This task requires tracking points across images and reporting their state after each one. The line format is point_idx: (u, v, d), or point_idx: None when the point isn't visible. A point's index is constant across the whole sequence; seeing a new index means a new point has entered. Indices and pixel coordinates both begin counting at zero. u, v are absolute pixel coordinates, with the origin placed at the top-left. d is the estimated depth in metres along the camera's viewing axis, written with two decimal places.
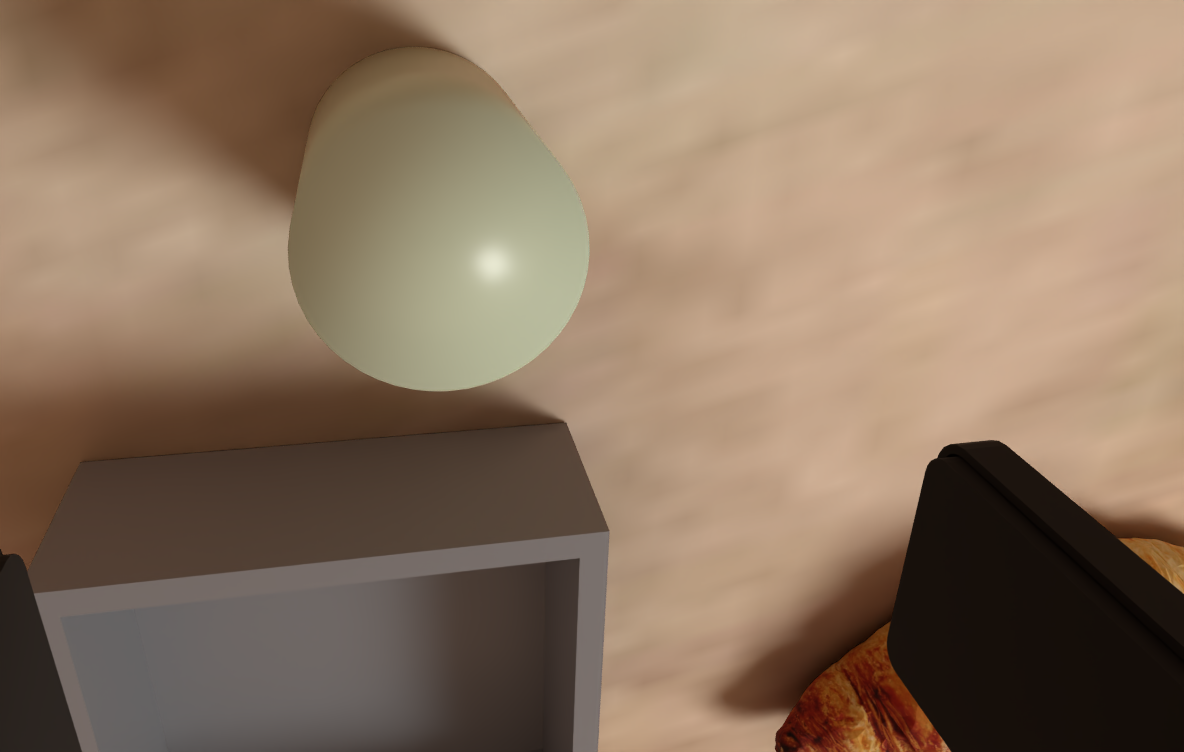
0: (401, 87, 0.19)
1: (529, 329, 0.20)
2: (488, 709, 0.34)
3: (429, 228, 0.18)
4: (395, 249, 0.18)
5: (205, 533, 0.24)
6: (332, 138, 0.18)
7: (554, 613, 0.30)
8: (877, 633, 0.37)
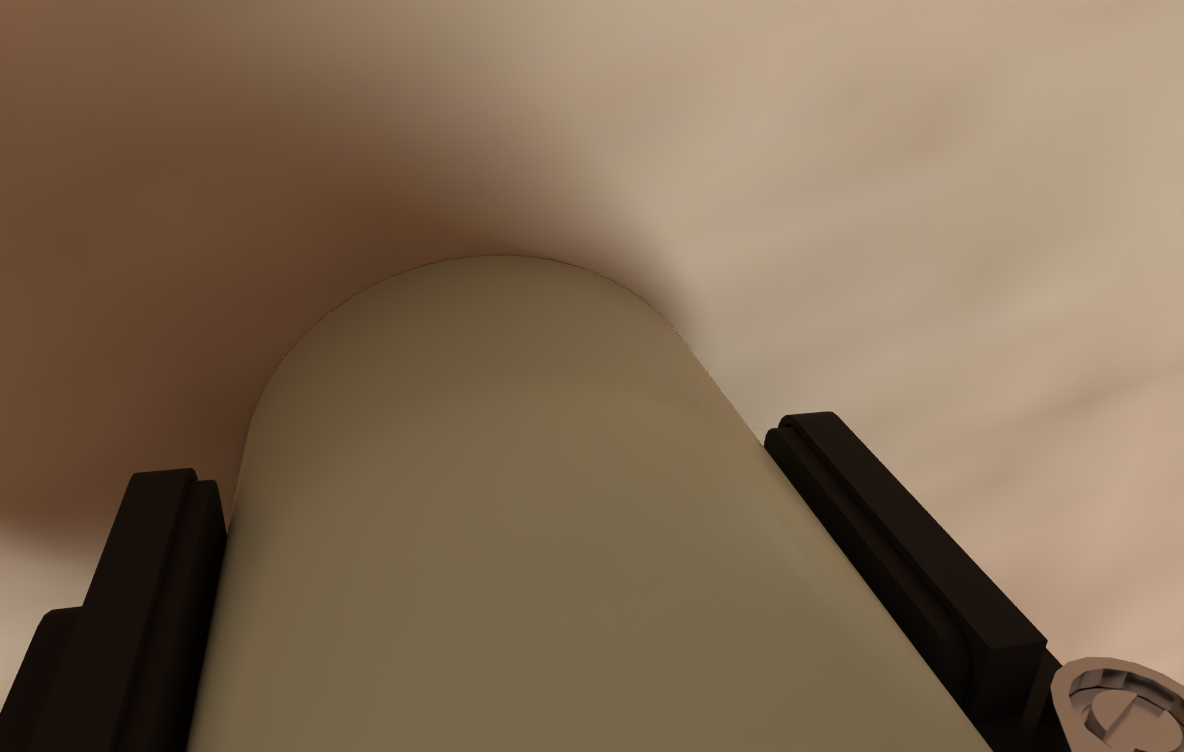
0: (510, 579, 0.06)
1: None
2: None
3: None
4: None
5: None
6: None
7: None
8: None
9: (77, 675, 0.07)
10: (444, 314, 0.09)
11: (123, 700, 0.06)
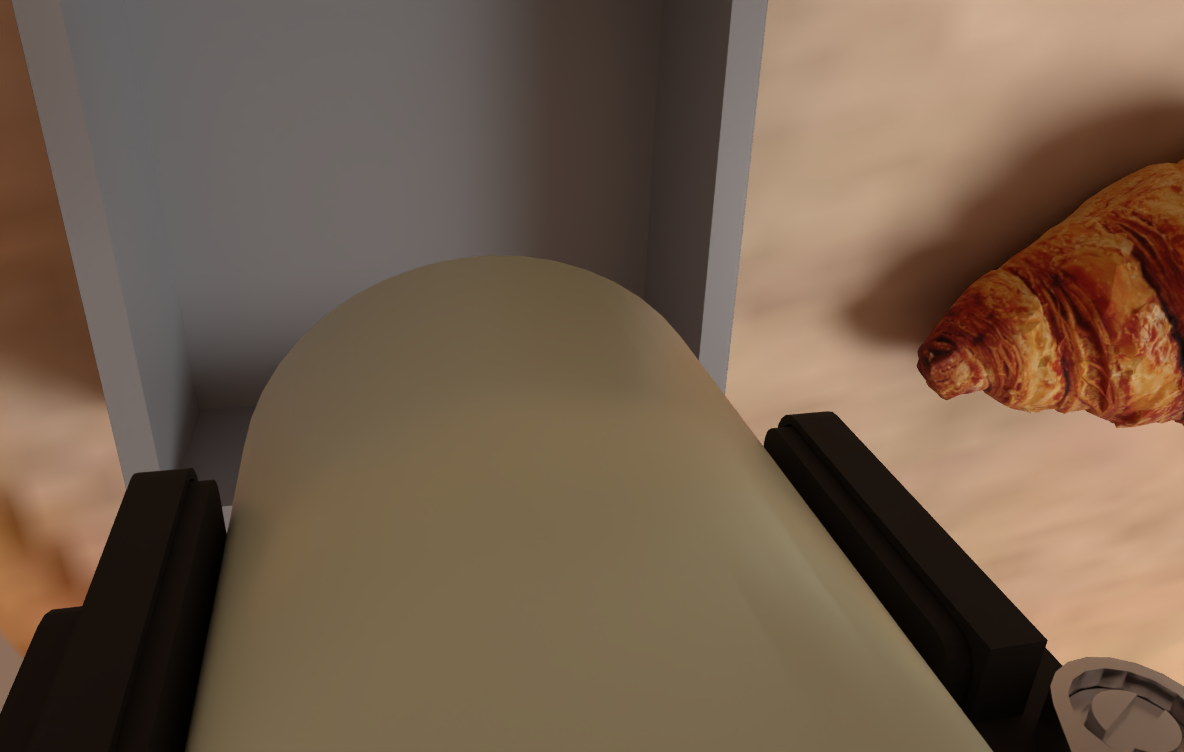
0: (510, 581, 0.06)
1: None
2: None
3: None
4: None
5: None
6: None
7: (674, 125, 0.24)
8: (1048, 230, 0.30)
9: (77, 675, 0.07)
10: (443, 314, 0.09)
11: (122, 700, 0.06)
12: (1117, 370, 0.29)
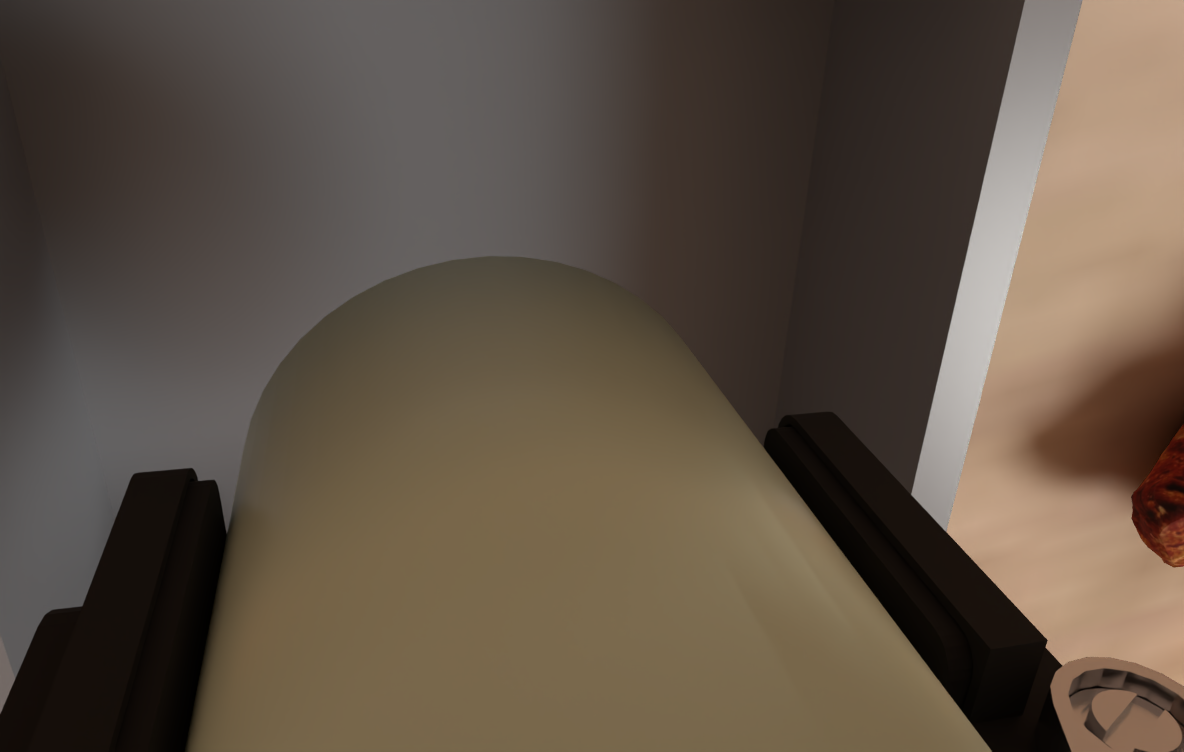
0: (510, 583, 0.06)
1: None
2: None
3: None
4: None
5: None
6: None
7: (847, 227, 0.16)
8: None
9: (77, 675, 0.07)
10: (444, 315, 0.09)
11: (122, 700, 0.06)
12: None
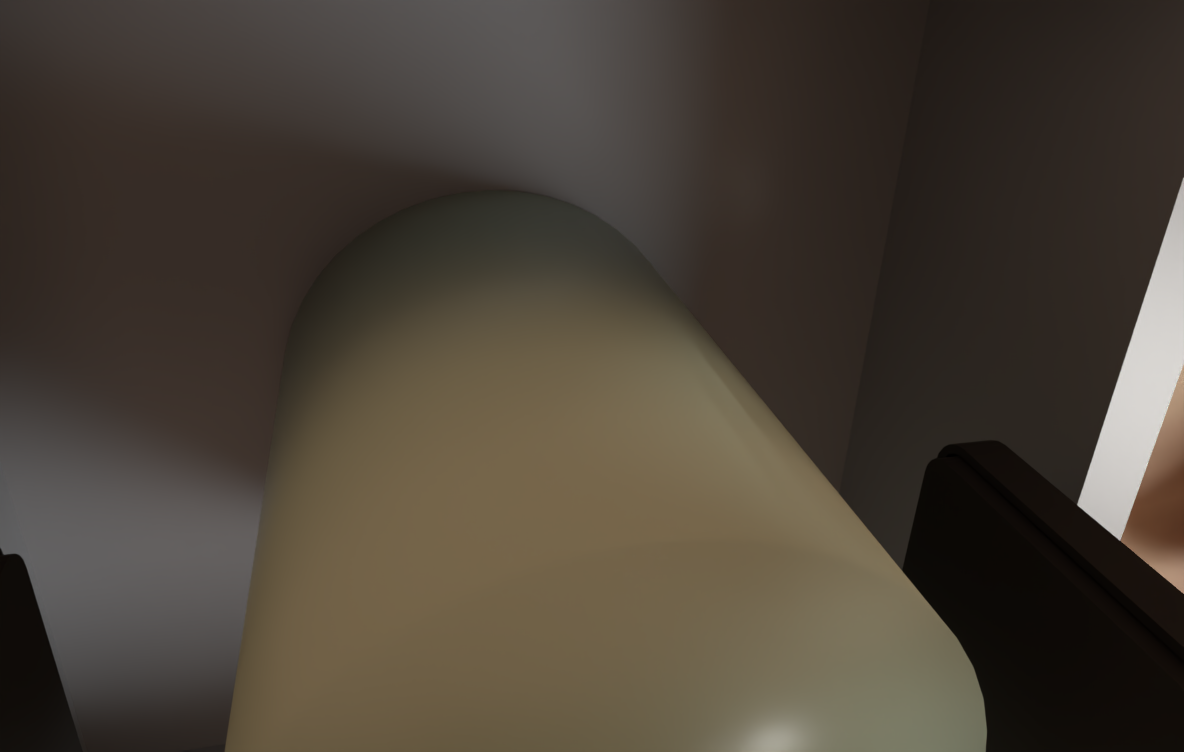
0: (504, 381, 0.08)
1: None
2: None
3: None
4: None
5: None
6: (331, 577, 0.06)
7: (939, 306, 0.13)
8: None
9: None
10: (453, 229, 0.11)
11: None
12: None
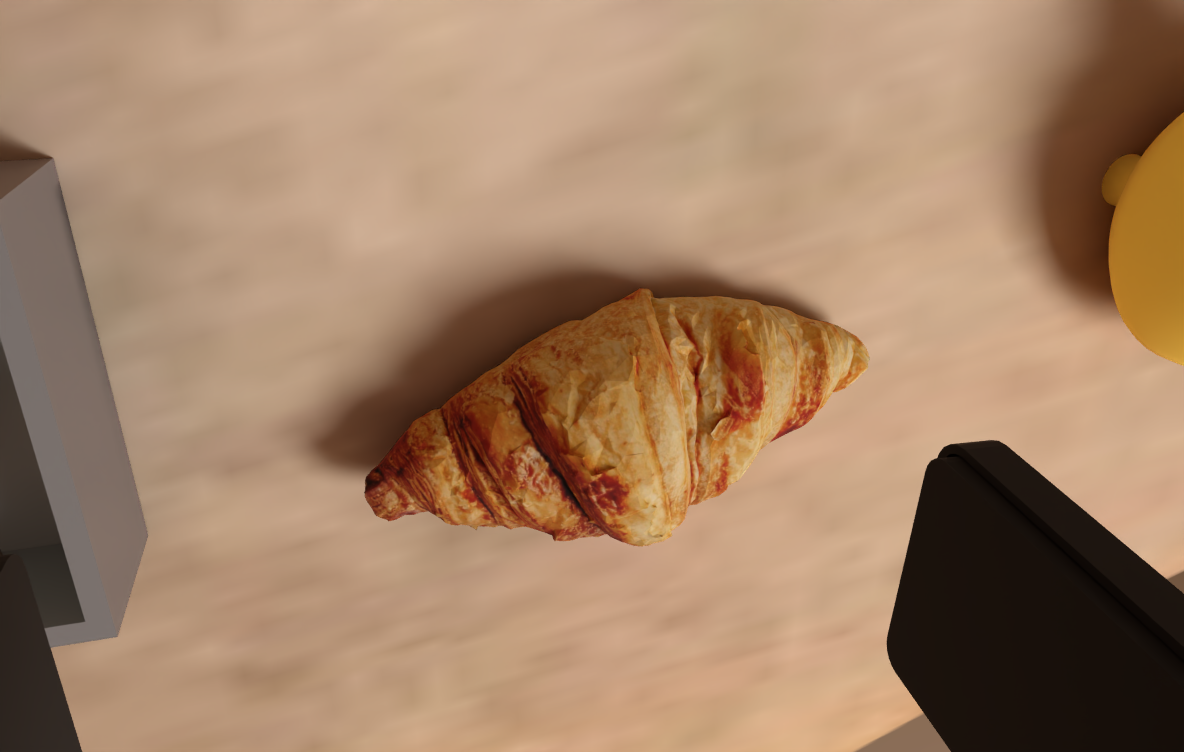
0: None
1: None
2: (38, 487, 0.33)
3: None
4: None
5: None
6: None
7: None
8: (481, 376, 0.36)
9: None
10: None
11: None
12: (512, 499, 0.34)
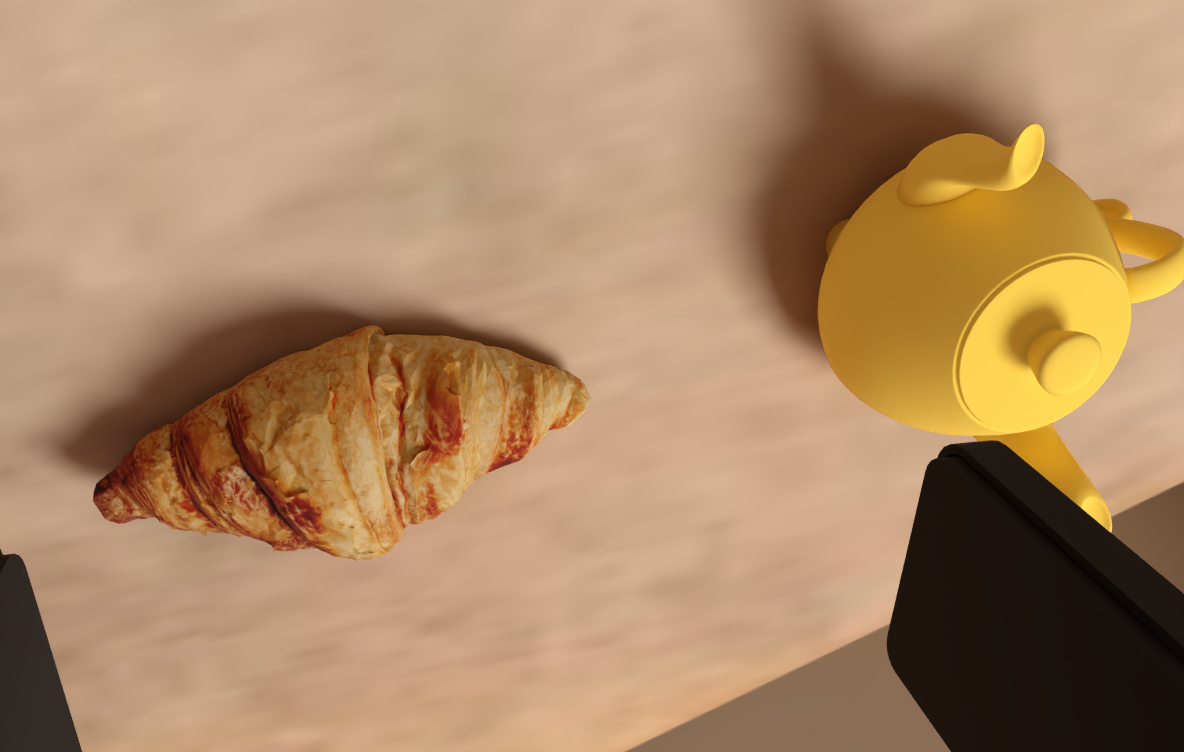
0: None
1: None
2: None
3: None
4: None
5: None
6: None
7: None
8: None
9: None
10: None
11: None
12: (224, 512, 0.38)
